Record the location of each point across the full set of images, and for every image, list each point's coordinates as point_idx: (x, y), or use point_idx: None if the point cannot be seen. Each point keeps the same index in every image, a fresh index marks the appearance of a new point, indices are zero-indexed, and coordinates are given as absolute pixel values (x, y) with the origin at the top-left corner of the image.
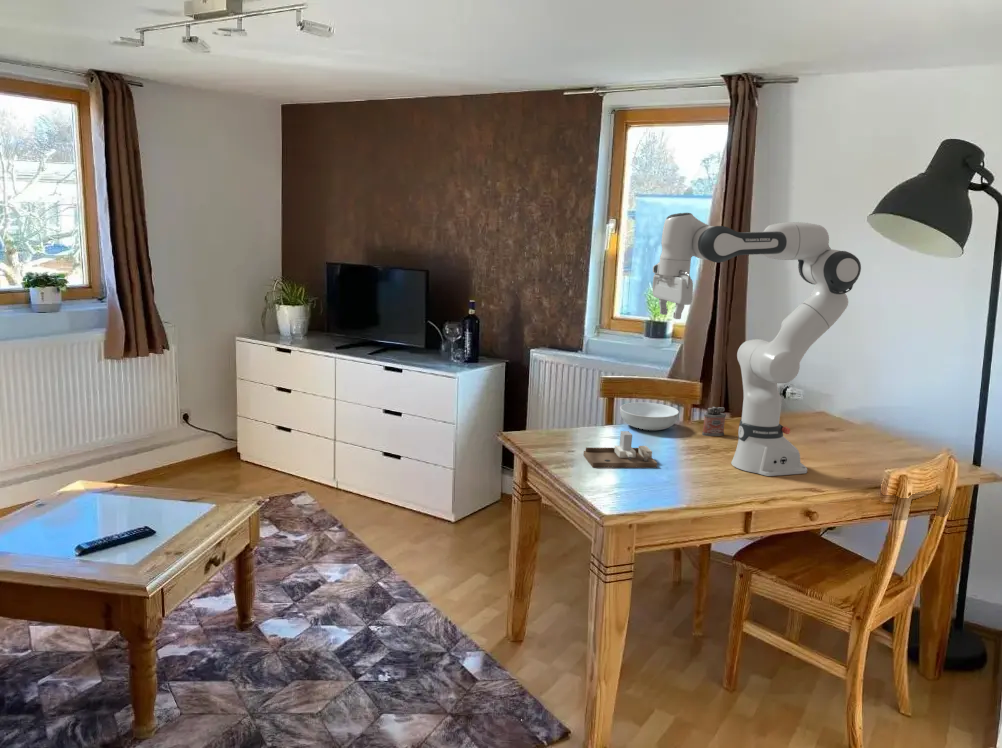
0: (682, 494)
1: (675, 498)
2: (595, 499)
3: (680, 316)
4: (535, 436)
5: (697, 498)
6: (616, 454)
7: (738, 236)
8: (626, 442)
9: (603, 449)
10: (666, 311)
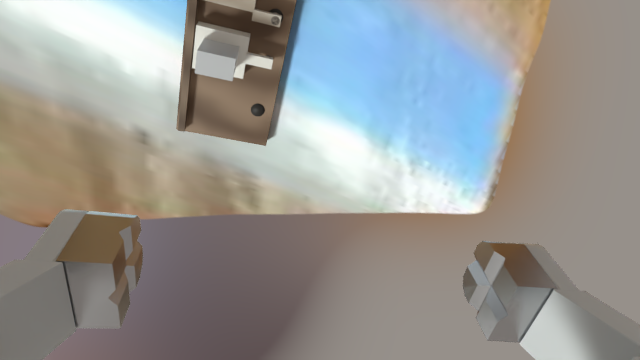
0: (471, 41)
1: (481, 69)
2: (423, 202)
3: (550, 265)
4: (15, 169)
5: (503, 22)
6: None
7: None
8: (235, 66)
9: (188, 90)
10: (124, 248)
